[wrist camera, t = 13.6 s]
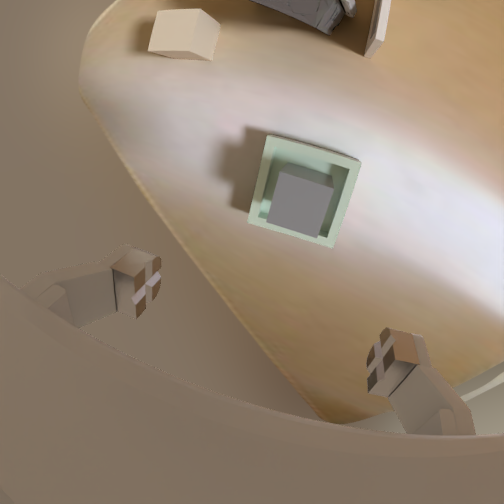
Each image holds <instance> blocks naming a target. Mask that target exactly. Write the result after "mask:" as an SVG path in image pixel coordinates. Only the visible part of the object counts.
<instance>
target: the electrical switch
mask: <svg viewBox="0 0 504 504" xmlns="http://www.w3.org/2000/svg"><path fill="white" fill-rule="evenodd" d="M250 1H252V2H256V3H259V4H261V5H264V6H267V7H269V8H272V9H274V10H277V11H279V12H282V13H284V14H286V15H289V16H291V17H293V18H295V19H298V20H300V21H302V22H304V23H306V24H308V25H310V26H312V27H314V28H316V29H318V30H320V31H322V32H324V33H326V34H327V35H329V36H330V35H331V33H332V31H333V30H334V28H335V27H336V26H338V25H339V22H340V21H341V19H342V18H343V16H344V15H347V16H349V17H352V18H353V17H354V15H355V14H356V12H357V9H356V4H355V0H250Z"/></svg>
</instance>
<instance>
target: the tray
mask: <svg viewBox="0 0 504 504" xmlns="http://www.w3.org/2000/svg"><path fill="white" fill-rule="evenodd" d="M288 162H289V163H293V164H296V165H299V166H302V167H306V168H309V169H312V170H315V171H318V172H321V173H324V174H327V175H330V176H332V179H333V185H334V191H333V194H332V197H331V200H330V203H329V206H328V209H327V212H326V214H325V217H324V220H323V223H322V226H321V229H320V231H319V234H318V237H317V238H314V237H311V236H308V235H305V234H302V233H299V232H296V231H292V230H289V229H286V228H283V227H280V226H277V225H274V224H270V223H267V222H266V221H267V217H268V213H269V210H270V206H271V202H272V199H273V195H274V191H275V188H276V184H277V180H278V176H279V173H280V171H281V170H282V168H283V167H284V166H285V165H286V164H287V163H288ZM360 167H361V162H360V161H359V160H358V159H355V158H352V157H349V156H346V155H343V154H340V153H337V152H333V151H330V150H327V149H324V148H320V147H317V146H313V145H310V144H306V143H303V142H299V141H296V140H292V139H288V138H284V137H280V136H276V135H272V134H271V135H267V138H266V142H265V146H264V151H263V155H262V159H261V164H260V168H259V172H258V177H257V181H256V186H255V190H254V194H253V199H252V203H251V208H250V212H249V217H248V221H247V223H250V224H254V225H257V226H260V227H264V228H267V229H271V230H274V231H277V232H281V233H284V234H287V235H291V236H294V237H297V238H300V239H304V240H307V241H310V242H314V243H317V244H320V245H323V246H326V247H330V248H333V246H334V244H335V241H336V238H337V235H338V233H339V230H340V227H341V224H342V221H343V219H344V216H345V213H346V210H347V207H348V204H349V201H350V198H351V195H352V192H353V189H354V186H355V183H356V180H357V176H358V173H359V170H360Z"/></svg>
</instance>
